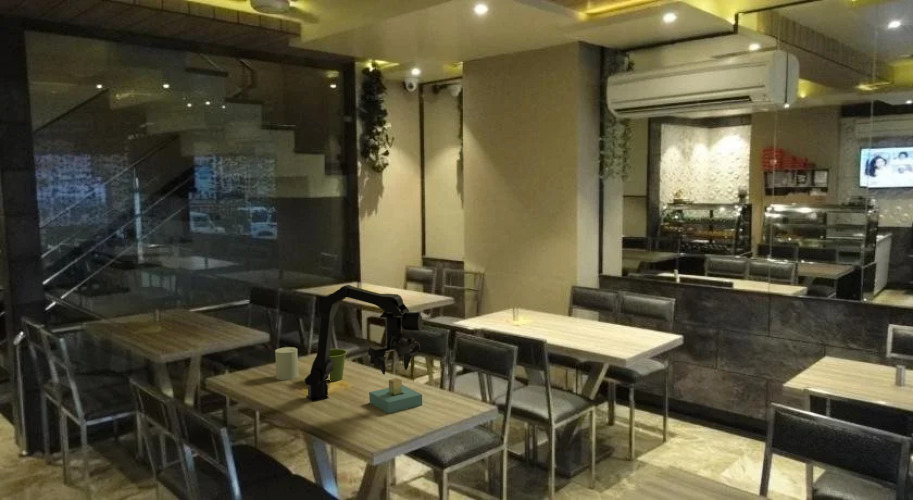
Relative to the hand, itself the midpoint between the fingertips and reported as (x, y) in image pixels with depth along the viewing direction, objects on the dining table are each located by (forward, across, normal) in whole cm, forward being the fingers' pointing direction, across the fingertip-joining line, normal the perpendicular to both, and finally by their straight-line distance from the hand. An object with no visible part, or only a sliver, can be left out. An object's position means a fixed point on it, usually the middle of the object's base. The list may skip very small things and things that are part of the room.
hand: (395, 371), depth 236 cm
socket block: (+12, 0, 0) cm, 12 cm away
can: (+12, -19, +57) cm, 61 cm away
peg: (+12, 0, 0) cm, 12 cm away
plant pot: (+12, -5, +42) cm, 44 cm away
